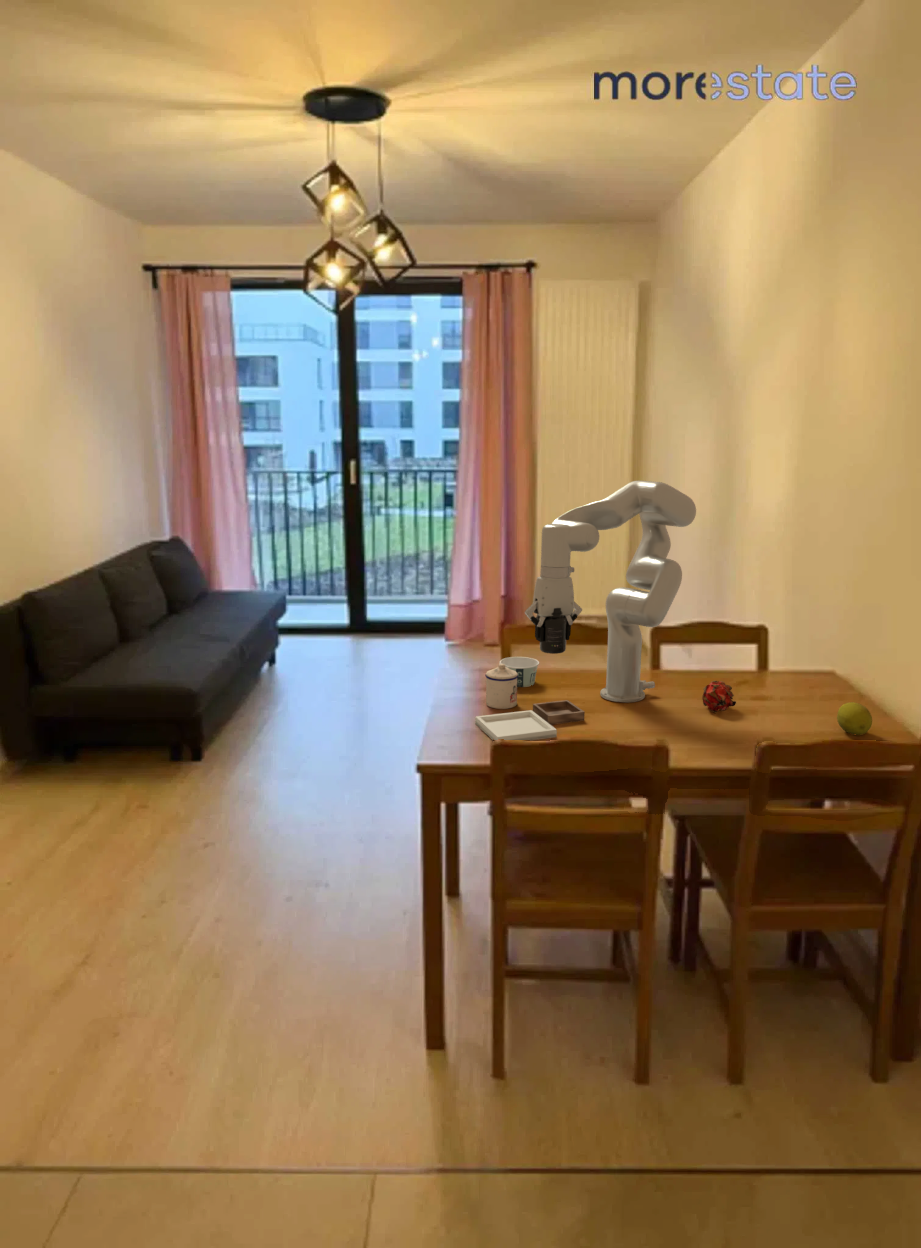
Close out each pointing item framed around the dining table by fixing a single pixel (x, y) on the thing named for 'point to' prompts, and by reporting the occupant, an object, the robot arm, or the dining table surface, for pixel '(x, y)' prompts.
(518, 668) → the food container
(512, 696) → the teacup with lid
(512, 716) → the tray
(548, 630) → the supplement bottle
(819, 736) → the dining table surface
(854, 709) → the lemon
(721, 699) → the dragon fruit
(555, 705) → the holder
